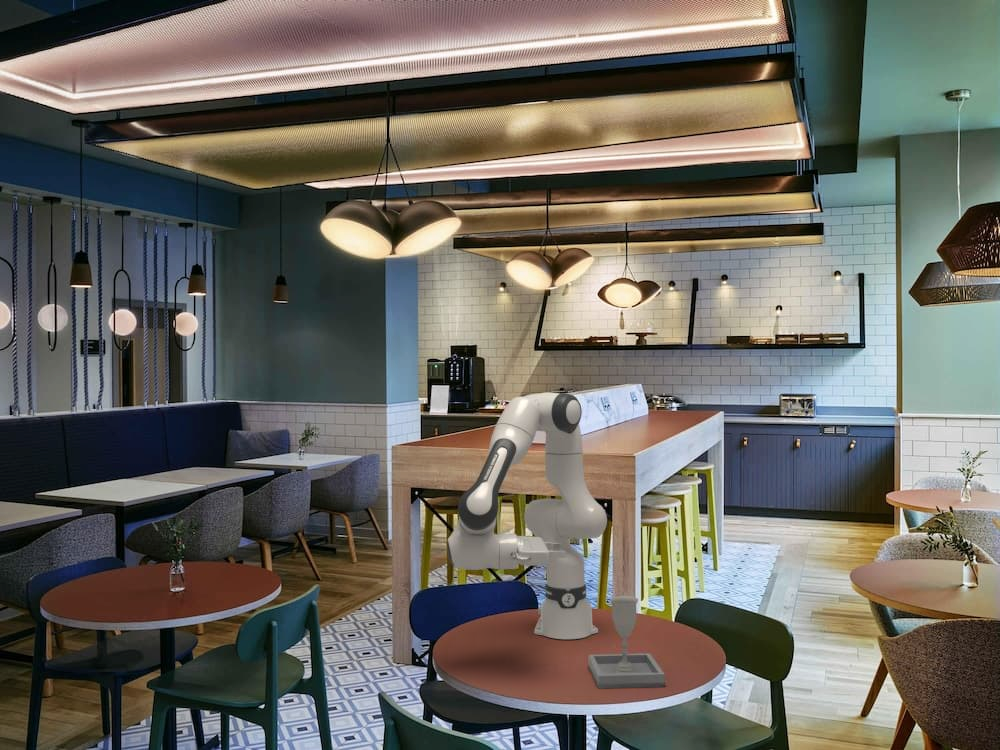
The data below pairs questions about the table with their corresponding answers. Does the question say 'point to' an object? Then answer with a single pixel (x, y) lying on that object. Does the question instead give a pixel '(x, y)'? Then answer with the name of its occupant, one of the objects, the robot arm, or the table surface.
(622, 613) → the chalice
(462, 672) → the table surface
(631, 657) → the tray
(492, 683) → the table surface
